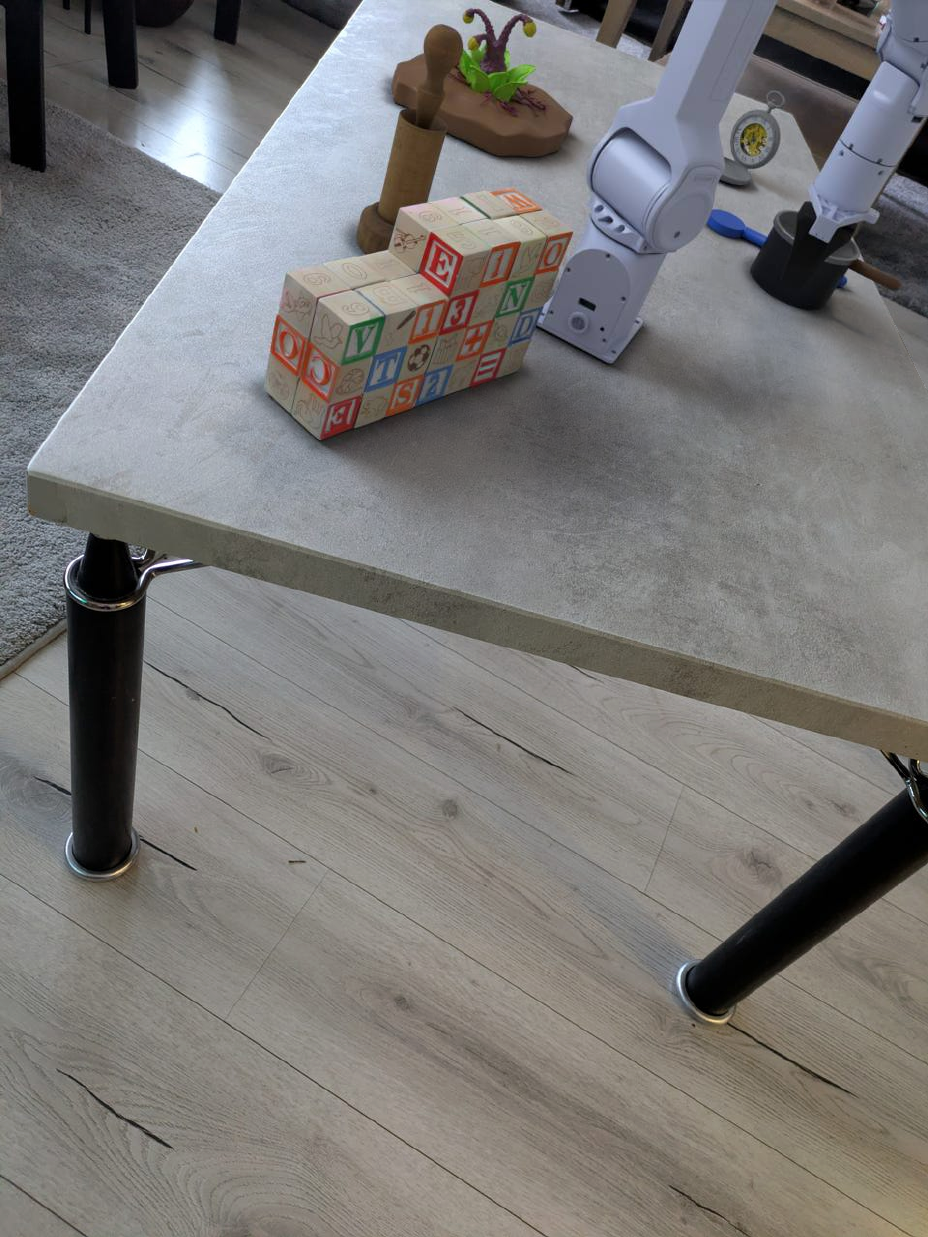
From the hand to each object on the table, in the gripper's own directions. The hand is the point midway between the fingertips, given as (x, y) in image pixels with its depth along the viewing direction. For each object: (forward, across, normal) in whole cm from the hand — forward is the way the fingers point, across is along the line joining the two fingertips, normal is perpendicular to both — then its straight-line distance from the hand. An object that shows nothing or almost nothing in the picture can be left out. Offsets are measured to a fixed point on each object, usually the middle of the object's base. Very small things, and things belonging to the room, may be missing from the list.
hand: (790, 282), depth 100 cm
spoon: (+3, +13, +3) cm, 14 cm away
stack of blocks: (+3, -44, +22) cm, 49 cm away
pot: (+3, +7, -3) cm, 8 cm away
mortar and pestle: (+3, -27, +32) cm, 42 cm away
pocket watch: (+3, +30, +13) cm, 33 cm away
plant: (+3, +10, +40) cm, 41 cm away
